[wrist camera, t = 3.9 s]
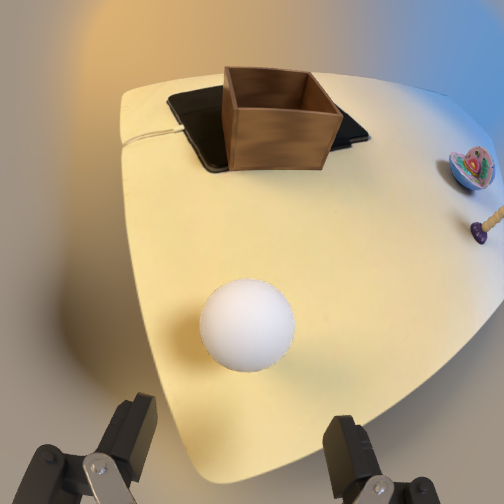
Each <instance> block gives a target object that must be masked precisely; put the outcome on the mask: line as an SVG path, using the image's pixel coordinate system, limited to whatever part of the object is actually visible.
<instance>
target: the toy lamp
mask: <svg viewBox="0 0 504 504" xmlns="http://www.w3.org/2000/svg"><path fill="white" fill-rule="evenodd" d="M502 218H504V206H503V207H501V208H499V210H498V212H495V213H494V214H493V216H492V217H490V218H489V219H488V220H487V221H485V222H484V223H483V224H481V223H479V222H475V223H473V224H472V225H471V231H472V234H473V236H474V237H475V239H476V240H477V241H478V242H479V243H480V244H484V243H485V241H486V240H487V232H488V231H489V230H490V229H491V228H493V227H494V226H495V225H496V223H499V222H500V221H501V220H502Z"/></svg>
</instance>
